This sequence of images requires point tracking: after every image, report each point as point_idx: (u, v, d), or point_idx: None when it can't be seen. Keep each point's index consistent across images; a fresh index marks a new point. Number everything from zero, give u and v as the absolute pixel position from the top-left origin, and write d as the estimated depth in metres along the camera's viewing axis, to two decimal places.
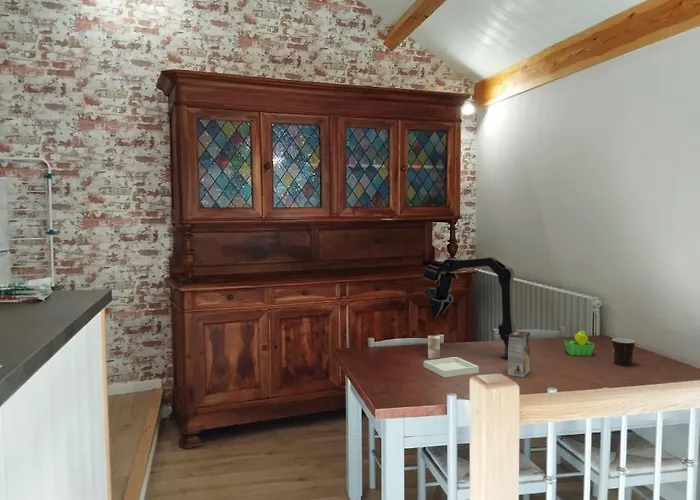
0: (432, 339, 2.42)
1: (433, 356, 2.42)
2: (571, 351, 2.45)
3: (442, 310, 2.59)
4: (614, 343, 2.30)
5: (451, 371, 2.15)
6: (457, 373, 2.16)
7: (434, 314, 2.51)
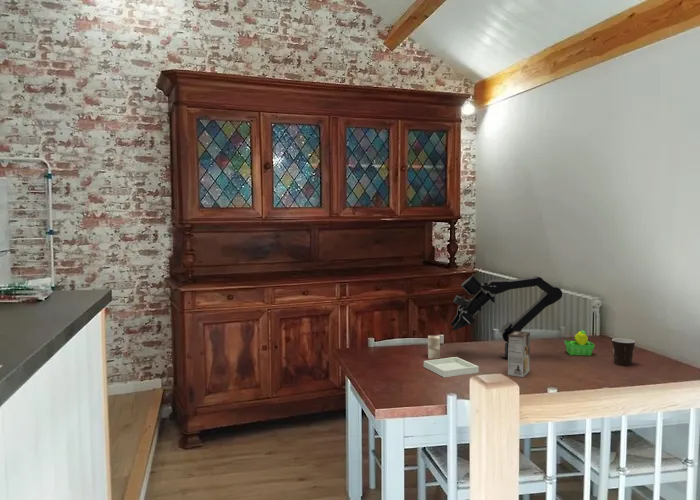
0: (432, 339, 2.42)
1: (433, 356, 2.42)
2: (571, 351, 2.45)
3: (456, 322, 2.47)
4: (614, 343, 2.30)
5: (451, 371, 2.15)
6: (457, 373, 2.16)
7: (457, 326, 2.37)
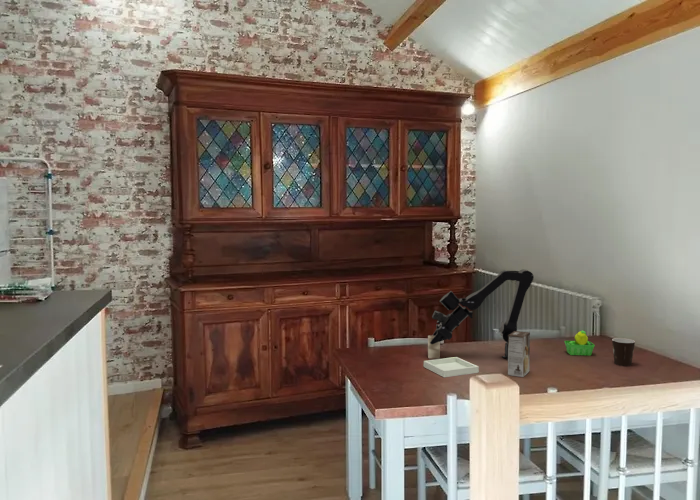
0: None
1: (433, 356, 2.42)
2: (571, 351, 2.45)
3: None
4: (614, 343, 2.30)
5: (451, 371, 2.15)
6: (457, 373, 2.16)
7: (435, 340, 2.41)
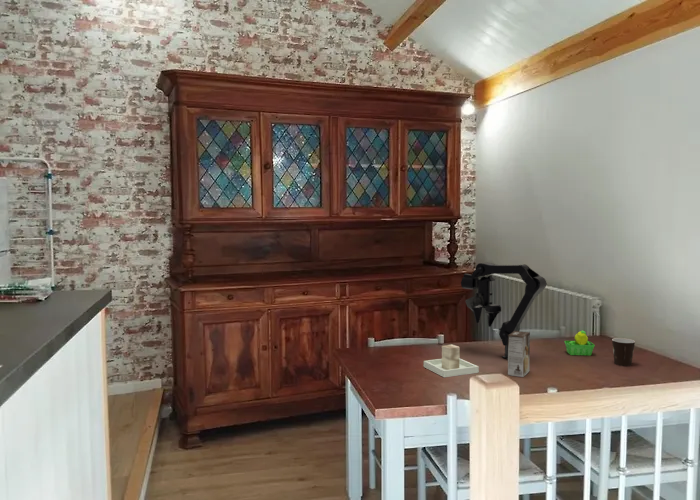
0: (453, 349, 2.21)
1: (454, 367, 2.22)
2: (571, 351, 2.45)
3: (478, 317, 2.54)
4: (614, 343, 2.30)
5: (451, 371, 2.15)
6: (457, 373, 2.16)
7: (491, 321, 2.45)
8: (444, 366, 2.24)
